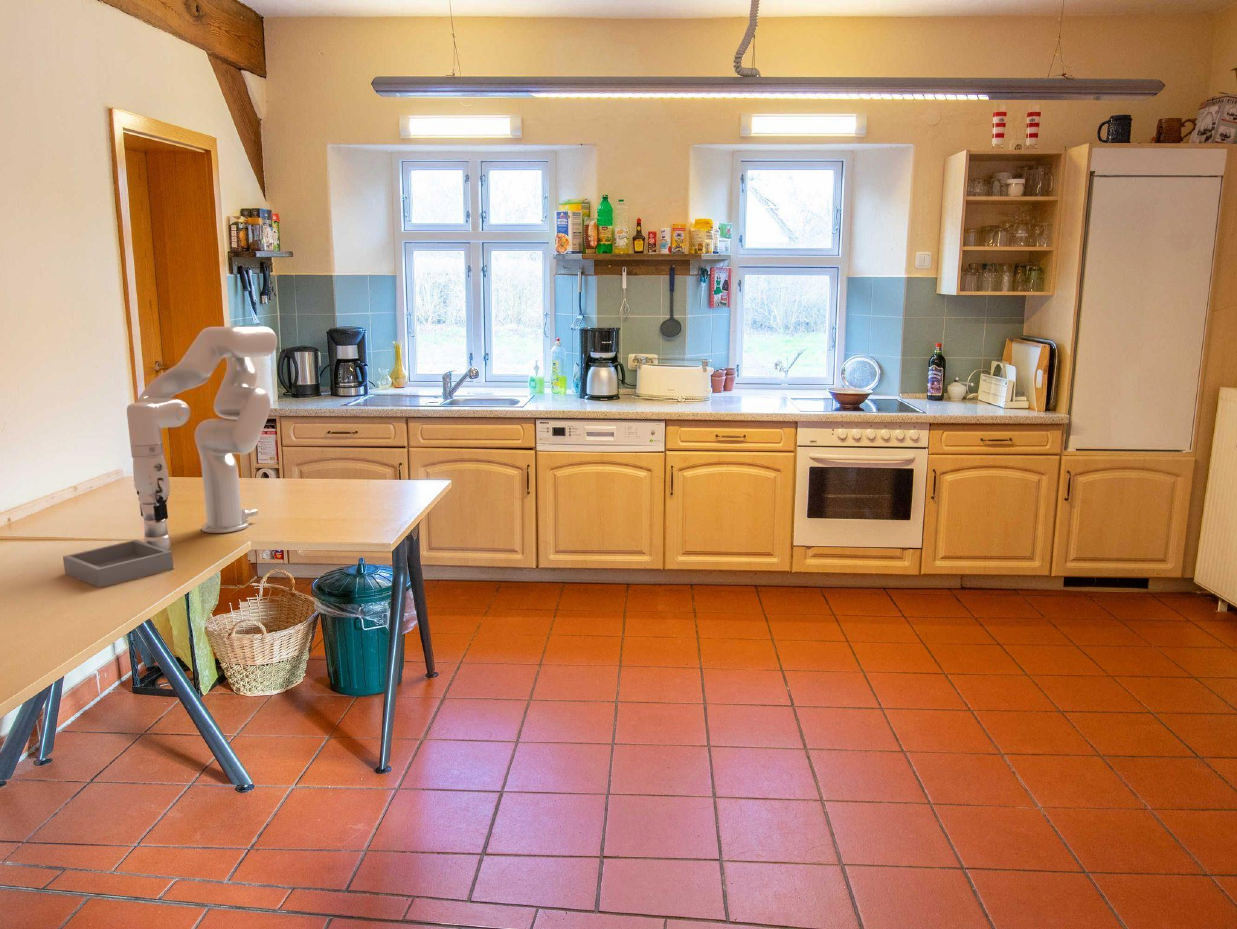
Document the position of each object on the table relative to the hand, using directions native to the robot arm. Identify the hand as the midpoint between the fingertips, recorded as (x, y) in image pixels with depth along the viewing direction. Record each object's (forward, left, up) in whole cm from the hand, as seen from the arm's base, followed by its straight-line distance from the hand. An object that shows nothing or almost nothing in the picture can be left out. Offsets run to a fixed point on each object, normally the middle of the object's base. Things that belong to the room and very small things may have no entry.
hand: (154, 517), depth 255 cm
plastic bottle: (0, 0, -10) cm, 10 cm away
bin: (+14, +8, -10) cm, 19 cm away
